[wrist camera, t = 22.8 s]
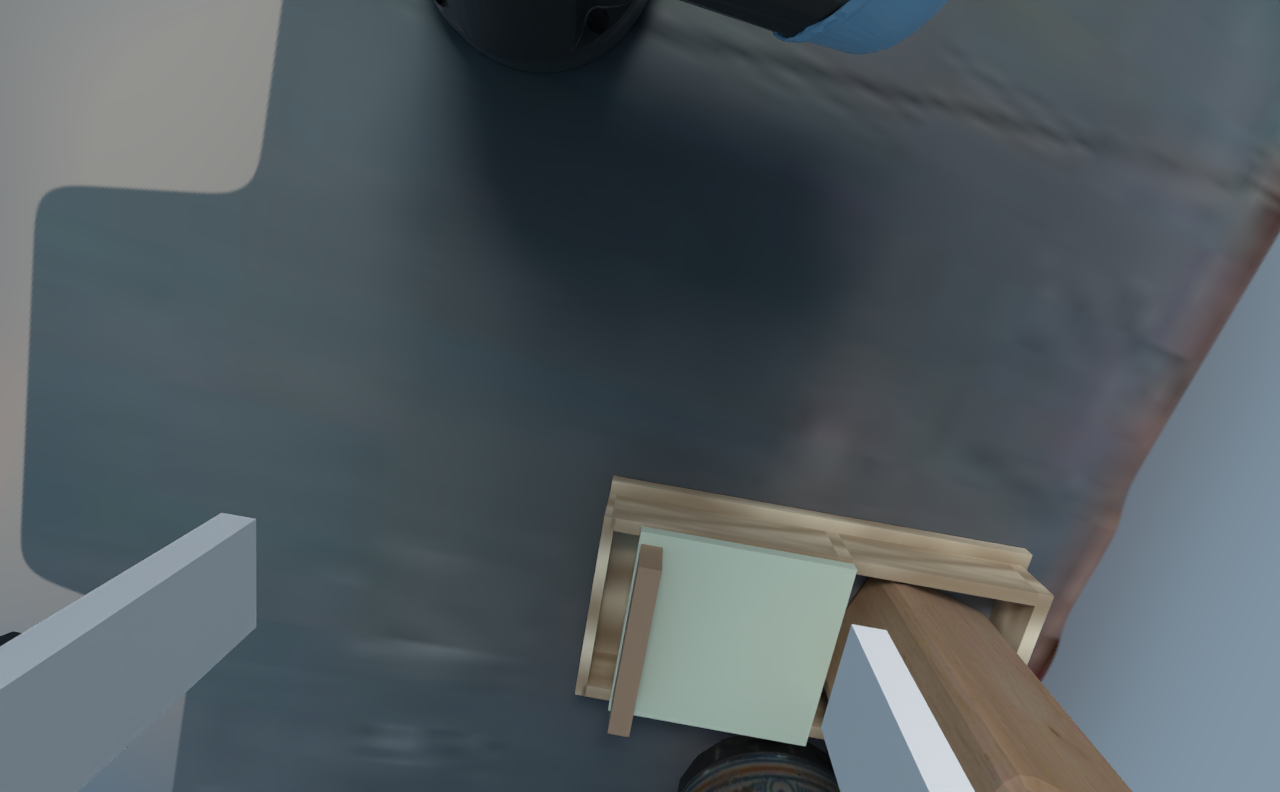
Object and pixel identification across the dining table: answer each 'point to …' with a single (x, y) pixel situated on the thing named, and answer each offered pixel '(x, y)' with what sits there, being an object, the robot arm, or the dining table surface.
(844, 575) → the lid
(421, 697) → the dining table surface
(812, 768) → the beer stein
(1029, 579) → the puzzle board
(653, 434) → the dining table surface
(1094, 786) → the wooden block
